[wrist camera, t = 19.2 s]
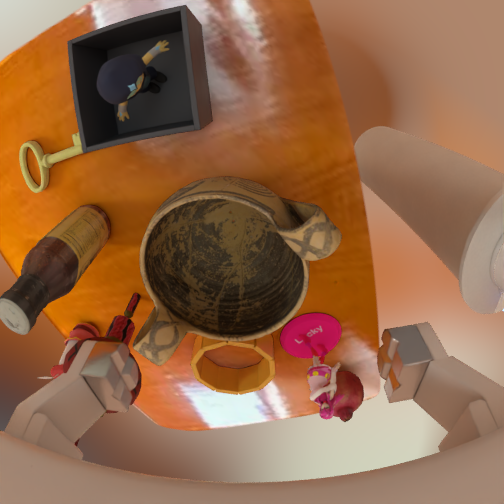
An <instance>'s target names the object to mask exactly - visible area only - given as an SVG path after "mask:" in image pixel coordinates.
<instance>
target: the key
mask: <svg viewBox="0 0 504 504" xmlns="http://www.w3.org/2000/svg"><path fill="white" fill-rule="evenodd" d="M72 138H73V142H74V146H73V147H70V148H68V149H65V150H62V151H60V152H57V153H55V154H52V155H51V154H50V153H47V154H46V155H44V152H43V150H42V148H41V146H40V145H39V144H38V143H37V142H36V141H28V142H26V143H24V144H23V145H22V146H21V148H20V155H19V157H20V165H21V170H22V173H23V176H24V179H25V181H26V183H27V185H28V186H29V188H30V189H31V190H32V191H33V192H35V193H38V192H41V191H43V190H44V189H45V188H46V187H47V186H48V183H49V169H48V168H51V167H52V166H53V164H54V163H56V162H59V161H62V160H64V159H67V158H70V157H73V156H76V155H79V154H82V153H83V149H82V144H81V139H80V134H79V132H78V133H77V134H76V133H75V134H73V135H72ZM28 147H30V148H31V149H32V150H33V152H34V154H35V156H36V158H37V161H38V164H39V168H40V173H41V185H40V186H39V185H37V184H36V183H35V182H34V180H33V179H32V178H31V176H30V173H29V171H28V167H27V161H26V155H27V149H28Z"/></svg>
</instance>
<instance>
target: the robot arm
mask: <svg viewBox="0 0 504 504" xmlns="http://www.w3.org/2000/svg"><path fill="white" fill-rule="evenodd" d="M490 276H491V279H492V282H493V283H494V284H495V285H496V286H497V287H498V290H499V294H500V296H501V297H502V298H504V234H503V235H502V237H501V238H500V240H499V242H498V244H497V246H496V248H495V250H494V253H493V256H492V260H491V265H490ZM503 311H504V310H503ZM382 341H383V345H382V346H381V347H380V348H379V351H378V356H377V364H378V370H379V373H380V376H381V377H382V378H383V379H385V380H386V382H385V386H384V389H385V392H386V395H387V398H388V400H389V403H393V402H398V401H403V400H409V399H413V400H414V401H415V402H416V403H417V404H418V405H419V406H420V407H421V408H423V409H424V410H425V411H426V412H427V413H428V414H429V415H430V416H431V417H432V418H434V419H435V420H436V421H437V422H438V423H439V424H440V425H441V426H442V427H444V428H445V429H446V430H447V431H448V432H449V433H448V434H447V435H446V437H445V438H444V439H443V440H442V442H441V443H440V445H439V446H438V447H439V450H440V452H439V453H436V454H433V455H430V456H426V457H423V458H420V459H416V460H412V461H409V462H405V463H401V464H397V465H393V466H389V467H384V468H380V469H375V470H370V471H365V472H360V473H354V474H349V475H341V476H335V477H327V478H320V479H310V480H299V481H283V482H256V483H255V482H254V483H253V482H252V483H242V482H240V483H239V482H237V483H236V482H211V481H197V480H186V479H176V478H168V477H160V476H153V475H147V474H141V473H136V472H130V471H125V470H120V469H116V468H111V467H107V466H103V465H98V464H94V463H91V462H87V461H83V460H82V457H83V454H82V452H81V451H80V450H79V449H78V448H77V447H76V446H75V445H74V443H75V442H76V441H77V440H78V439H79V438H80V437H81V436H82V435H83V434H84V433H85V432H86V431H87V430H88V429H89V428H90V427H91V426H92V425H93V424H94V423H95V422H96V421H97V419H99V418H100V417H101V416H102V415H103V414H104V413H105V412H106V410H112V411H121V412H128V409H129V406H130V403H131V400H132V395H131V392H130V391H131V390H132V389H134V388H135V387H136V385H137V382H138V367H137V364H136V362H135V360H134V359H132V358H131V357H130V356H129V353H130V350H129V348H128V346H127V344H125V343H119V342H106V341H91V340H87V341H85V342H84V343H83V344H82V346H81V348H80V350H79V352H78V353H77V355H76V357H75V359H74V361H73V362H72V364H71V366H70V368H69V370H68V372H67V373H63V374H61V375H60V376H58V377H57V378H55V379H54V380H53V381H51V382H50V383H48V384H47V385H45V386H44V387H43V388H41V389H40V390H39V391H37V392H36V393H34V394H33V395H31V396H30V397H28V398H27V399H26V400H24V401H23V402H21V403H20V404H19V405H18V406H17V407H16V409H15V412H14V413H13V415H12V417H11V419H10V421H9V423H8V425H7V427H6V429H5V431H4V432H3V431H1V430H0V504H504V387H502V386H500V385H499V384H497V383H495V382H494V381H492V380H491V379H489V378H487V377H486V376H484V375H482V374H481V373H479V372H477V371H476V370H474V369H473V368H471V367H469V366H468V365H466V364H464V363H463V362H461V361H460V360H458V359H456V358H455V357H453V356H451V357H448V355H447V353H446V351H445V349H444V347H443V346H442V344H441V342H440V340H439V339H438V337H437V336H436V333H435V332H434V330H433V328H432V327H431V325H430V324H429V323H428V322H425V323H420V324H414V325H409V326H403V327H396V328H390V329H385V330H384V332H383V334H382Z"/></svg>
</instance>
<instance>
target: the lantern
mask: <svg viewBox="0 0 504 504" xmlns="http://www.w3.org/2000/svg"><path fill="white" fill-rule="evenodd" d="M140 298H141V297H140V295H139V294H138V293H134V294H133V296H132V298H131V300H130V302H129V304H128V306H127V308H126V310H125V312H124V315H125V316H121V315H118V316H116V317H114V319H113V321H112V323H111V325H110V327H109V329H108V331H107V333H106V335H105V337H92V338H87V339H83V340H79V341H78V342H77V343H76V344H75V345H74V346H73V347H72V348H71V349H70V350H69V351H68V353H67V354H66V355H65V360H64V364H63V373H67V372H68V370H69V368H70V366H71V364H72V362H73V361H74V359H75V357H76V355H77V353H78V352H79V350H80V348H81V346H82V344H83V343H84V342H85V341H87V340H91V341H106V342H119V343H125V344H127V346H128V344H129V342H130V339H131V337H132V334H133V332H134V329H135V326H134V323H133V322H132V321H131V319H129V318H131V317H132V316H133V313H134V311H135V309H136V307H137V304H138V302H139V300H140ZM129 356H130V357H131V358H132V359H134V357H133V355H132V354H131V353H129ZM134 360H135V359H134ZM135 362H136V360H135ZM136 364H137V362H136ZM137 367H138V382H137V385H136V387H135V388H134V389H132V390H131V391H130V392H131V395H132V400H131V403H130V405H132V404H133V403H134V401H135V399H136V398H137V396H138V395H139V392H140V388H141V372H140V369H139V366H138V364H137ZM116 412H119V411H112V410H106V412H105V413H116ZM103 415H104V414H103ZM103 415H102V416H103ZM102 416H101V417H102ZM78 441H79V439H78V440H77V441H76V442H75V446H76V447H77V444H78Z"/></svg>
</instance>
